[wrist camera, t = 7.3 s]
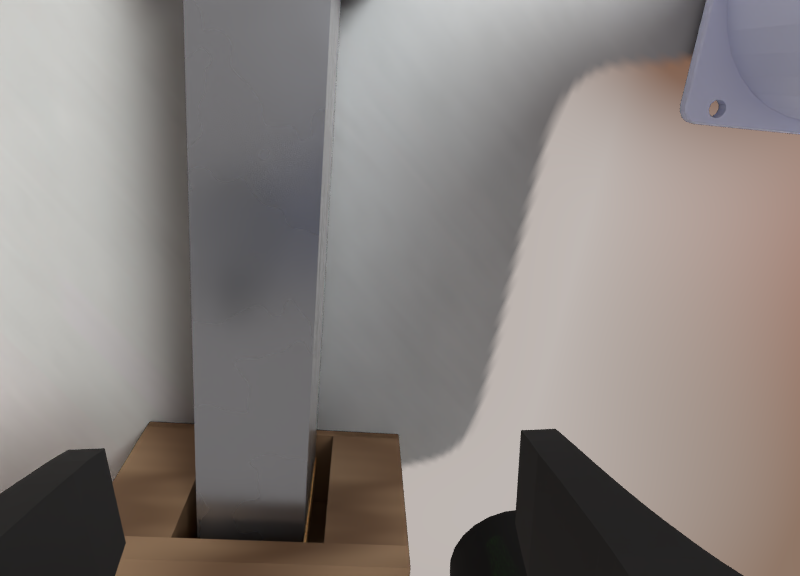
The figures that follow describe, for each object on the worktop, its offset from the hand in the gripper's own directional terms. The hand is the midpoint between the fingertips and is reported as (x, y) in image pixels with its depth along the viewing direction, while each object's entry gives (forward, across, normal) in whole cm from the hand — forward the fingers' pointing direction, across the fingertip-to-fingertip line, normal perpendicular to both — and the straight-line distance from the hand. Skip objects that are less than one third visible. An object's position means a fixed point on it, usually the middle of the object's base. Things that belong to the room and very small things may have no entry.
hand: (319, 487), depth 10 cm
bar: (+10, +2, -2) cm, 10 cm away
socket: (+10, +3, +7) cm, 13 cm away
